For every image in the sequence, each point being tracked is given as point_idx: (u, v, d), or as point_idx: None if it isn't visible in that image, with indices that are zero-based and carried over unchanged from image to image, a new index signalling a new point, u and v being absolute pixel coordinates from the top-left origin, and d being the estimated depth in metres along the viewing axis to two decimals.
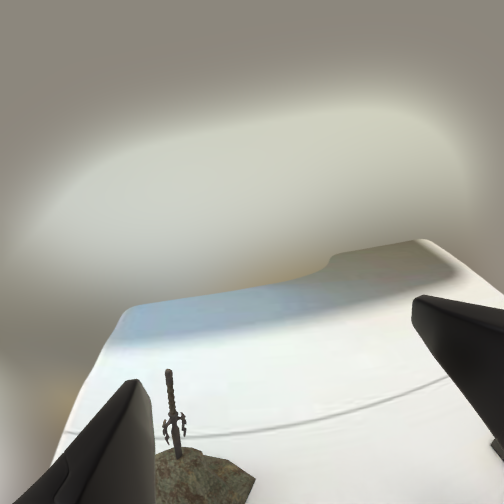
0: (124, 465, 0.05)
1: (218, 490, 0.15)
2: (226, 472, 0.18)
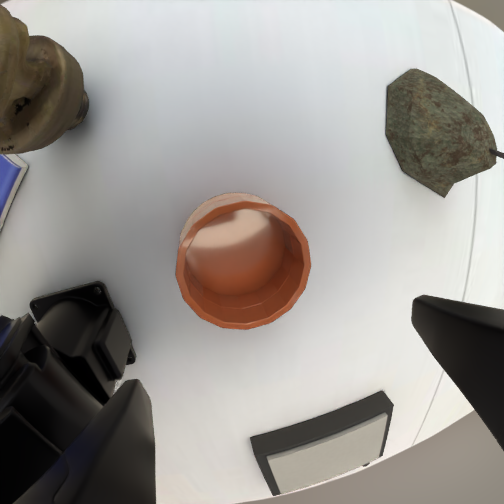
0: (124, 465, 0.05)
1: (454, 176, 0.17)
2: None
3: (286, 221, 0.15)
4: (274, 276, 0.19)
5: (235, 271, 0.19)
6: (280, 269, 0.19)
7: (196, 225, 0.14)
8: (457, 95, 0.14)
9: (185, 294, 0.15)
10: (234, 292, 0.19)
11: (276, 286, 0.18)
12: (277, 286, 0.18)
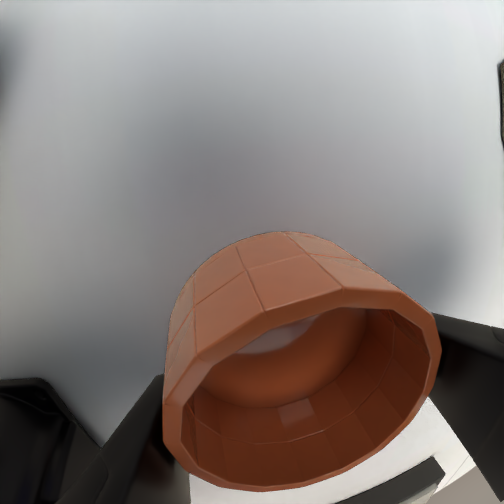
0: (163, 462, 0.05)
1: None
2: None
3: (420, 322, 0.05)
4: (342, 376, 0.10)
5: (276, 375, 0.10)
6: (354, 366, 0.10)
7: (206, 357, 0.05)
8: None
9: (188, 466, 0.06)
10: (272, 403, 0.10)
11: (349, 399, 0.09)
12: (351, 400, 0.09)
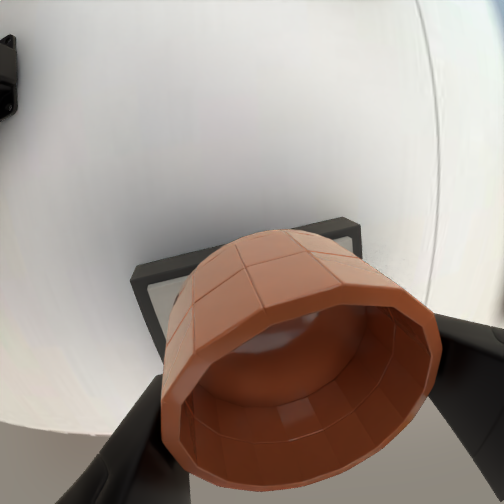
0: (163, 462, 0.05)
1: None
2: None
3: (420, 320, 0.05)
4: (342, 375, 0.10)
5: (276, 373, 0.09)
6: (354, 365, 0.10)
7: (205, 354, 0.05)
8: None
9: (187, 465, 0.06)
10: (271, 402, 0.10)
11: (349, 398, 0.09)
12: (351, 399, 0.09)
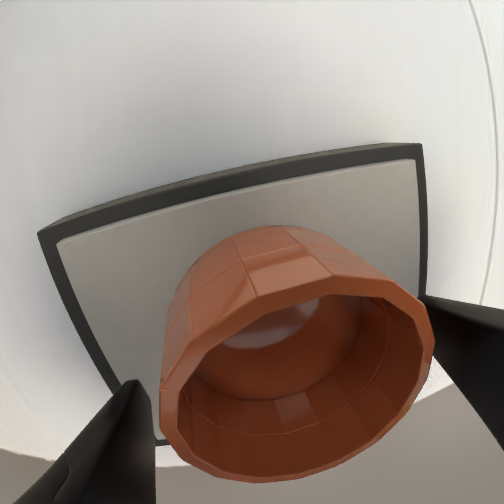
0: (124, 465, 0.05)
1: None
2: None
3: (411, 312, 0.06)
4: (338, 369, 0.10)
5: (273, 367, 0.10)
6: (350, 359, 0.10)
7: (201, 341, 0.05)
8: None
9: (184, 454, 0.06)
10: (268, 395, 0.10)
11: (345, 392, 0.09)
12: (346, 392, 0.09)
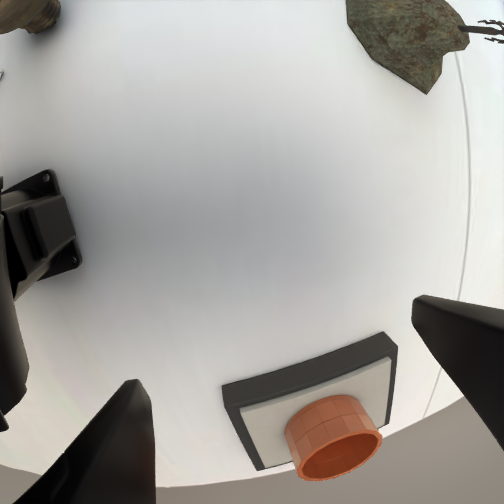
0: (124, 465, 0.05)
1: (427, 56, 0.14)
2: (433, 69, 0.16)
3: (372, 433, 0.17)
4: None
5: None
6: None
7: (316, 450, 0.16)
8: None
9: (300, 475, 0.17)
10: None
11: (351, 444, 0.21)
12: (352, 444, 0.20)
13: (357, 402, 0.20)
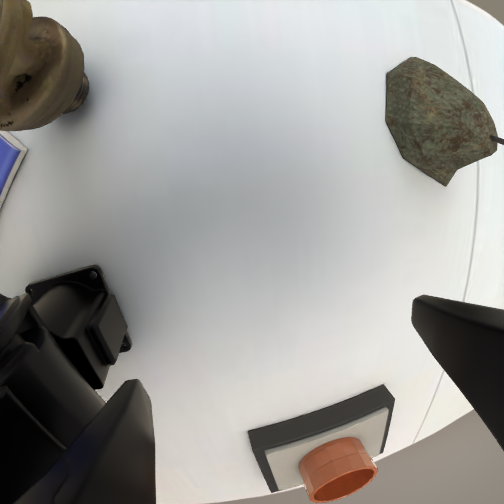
0: (124, 465, 0.05)
1: (455, 163, 0.16)
2: None
3: (370, 468, 0.20)
4: None
5: None
6: None
7: (326, 482, 0.19)
8: (457, 82, 0.14)
9: (312, 499, 0.20)
10: None
11: (352, 472, 0.23)
12: (352, 472, 0.23)
13: (359, 442, 0.23)
